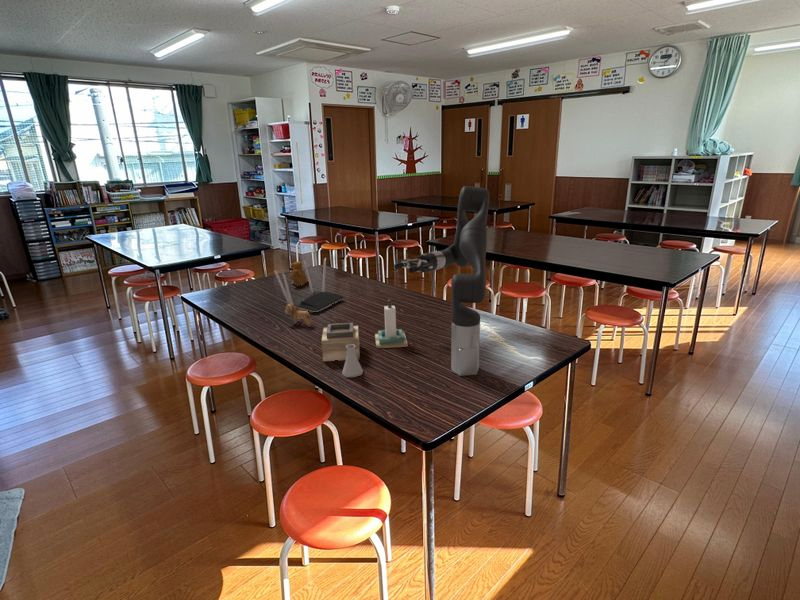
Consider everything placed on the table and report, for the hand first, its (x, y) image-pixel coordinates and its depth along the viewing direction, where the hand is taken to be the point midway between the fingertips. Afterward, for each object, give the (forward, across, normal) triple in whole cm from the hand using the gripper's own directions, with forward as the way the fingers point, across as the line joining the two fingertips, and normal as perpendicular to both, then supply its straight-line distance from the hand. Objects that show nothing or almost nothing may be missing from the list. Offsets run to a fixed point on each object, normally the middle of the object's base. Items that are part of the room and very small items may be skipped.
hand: (401, 268), depth 173 cm
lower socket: (+7, +1, +28) cm, 29 cm away
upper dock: (+27, -3, +28) cm, 39 cm away
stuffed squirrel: (-7, -100, +28) cm, 104 cm away
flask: (+34, +13, +28) cm, 46 cm away
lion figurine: (+24, -41, +28) cm, 55 cm away
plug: (+7, +1, +27) cm, 28 cm away
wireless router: (+6, -62, +28) cm, 69 cm away
